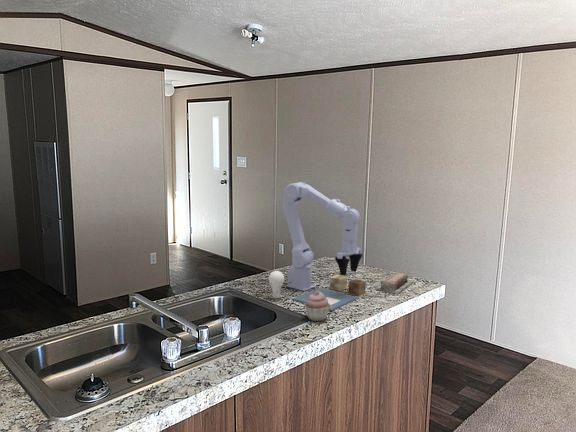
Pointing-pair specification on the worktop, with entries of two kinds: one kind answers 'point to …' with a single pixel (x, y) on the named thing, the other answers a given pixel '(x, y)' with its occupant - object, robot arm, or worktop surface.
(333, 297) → the board
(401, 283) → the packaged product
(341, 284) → the maple block
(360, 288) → the walnut block
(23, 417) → the worktop surface
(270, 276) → the lightbulb
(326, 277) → the worktop surface
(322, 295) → the cupcake
